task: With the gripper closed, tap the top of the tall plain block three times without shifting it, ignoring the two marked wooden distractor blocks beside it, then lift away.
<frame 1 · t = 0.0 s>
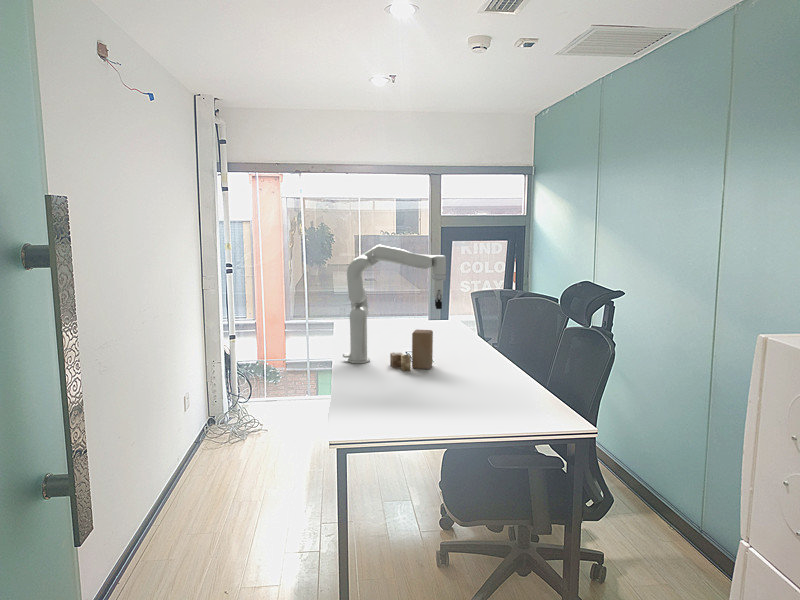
hand: (438, 307, 316), 31 cm above the table, fingers open, 9 cm apart
walnut block: (396, 366, 309), on the table
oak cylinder: (405, 370, 301), on the table
block: (422, 367, 308), on the table
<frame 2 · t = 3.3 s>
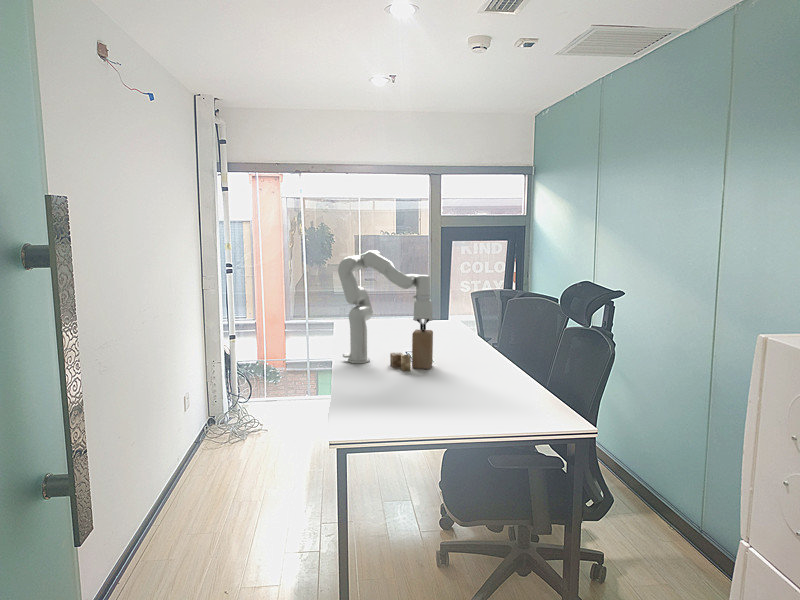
hand: (423, 331, 305), 20 cm above the table, fingers closed
block: (422, 367, 308), on the table, touching gripper
everything else where it was.
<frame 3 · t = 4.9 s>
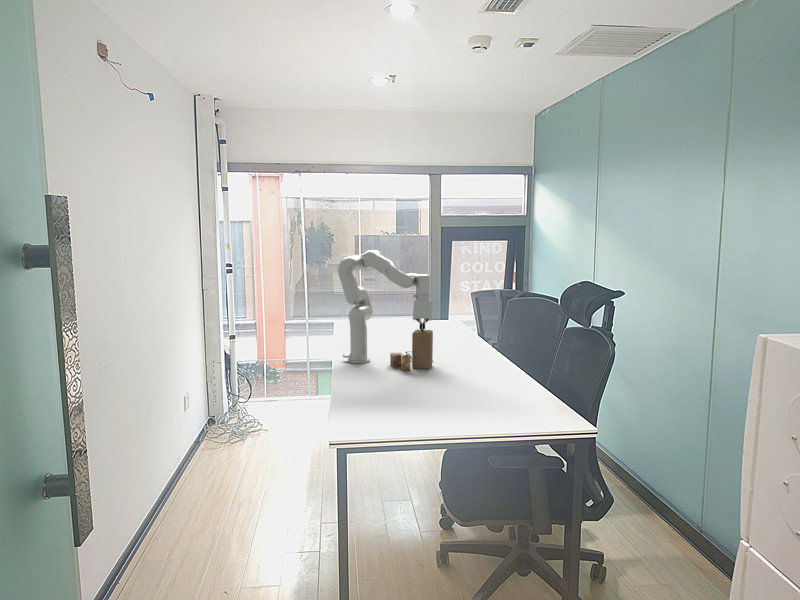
hand: (422, 330, 306), 20 cm above the table, fingers closed
block: (422, 367, 308), on the table
everything else where it was.
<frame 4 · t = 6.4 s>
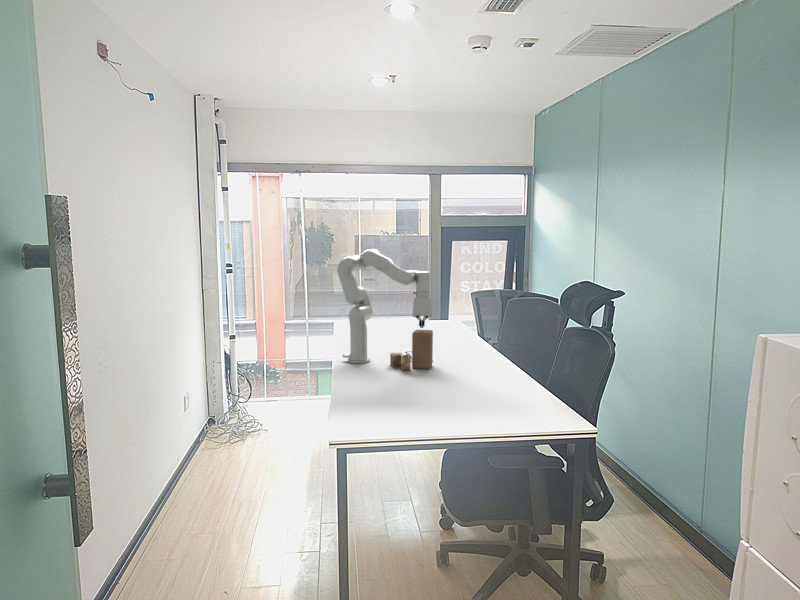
hand: (421, 327, 305), 22 cm above the table, fingers closed
nothing on the table moved.
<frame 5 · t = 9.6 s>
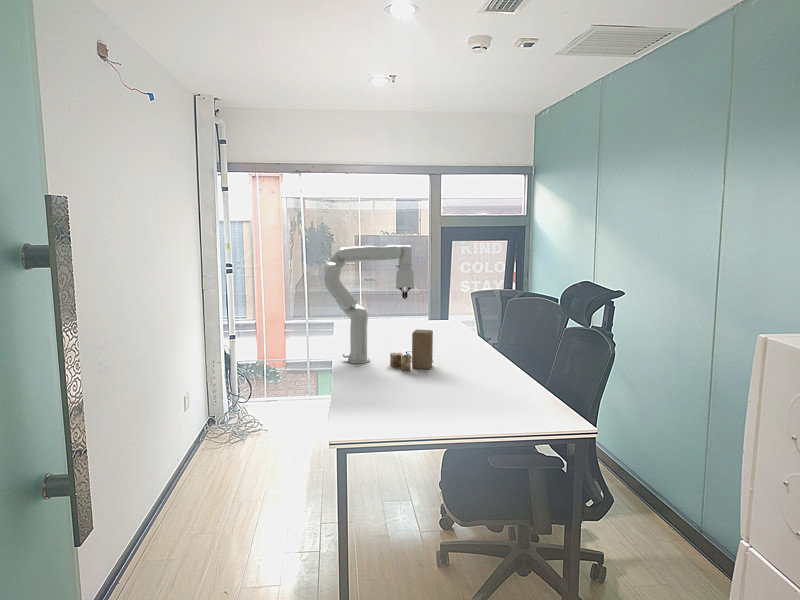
hand: (404, 298, 323), 35 cm above the table, fingers closed
nothing on the table moved.
at the end: block moved 0.2 cm from its start; block tilted 0°; walnut block moved 0.1 cm from its start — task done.
